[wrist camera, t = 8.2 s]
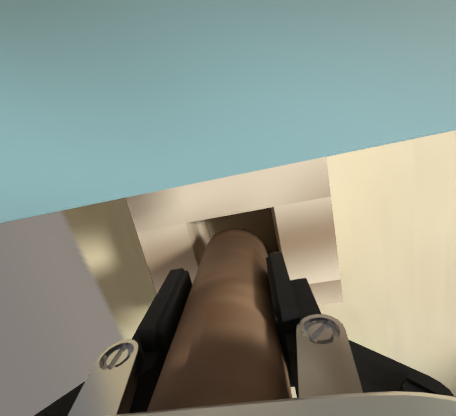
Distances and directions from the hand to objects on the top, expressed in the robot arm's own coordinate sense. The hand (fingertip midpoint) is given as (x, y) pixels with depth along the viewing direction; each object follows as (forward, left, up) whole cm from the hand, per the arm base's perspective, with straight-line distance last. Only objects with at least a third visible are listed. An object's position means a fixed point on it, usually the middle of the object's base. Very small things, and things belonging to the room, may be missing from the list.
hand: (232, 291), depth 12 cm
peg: (0, 0, -3) cm, 3 cm away
